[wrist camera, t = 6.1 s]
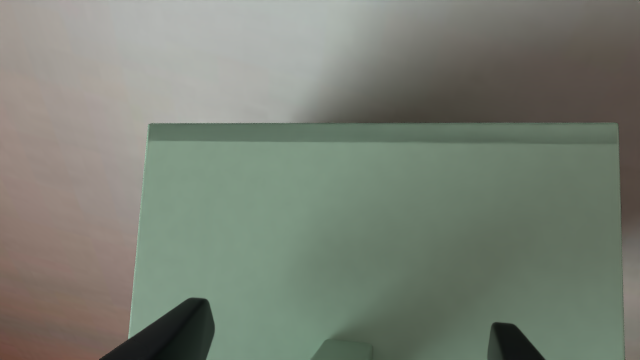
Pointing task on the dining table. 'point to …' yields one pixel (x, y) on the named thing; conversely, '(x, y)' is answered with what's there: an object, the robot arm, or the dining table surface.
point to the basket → (384, 237)
